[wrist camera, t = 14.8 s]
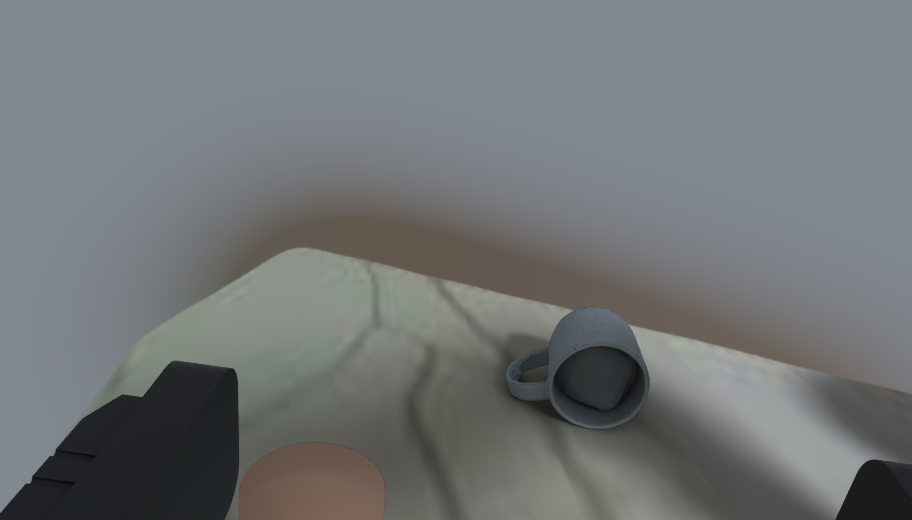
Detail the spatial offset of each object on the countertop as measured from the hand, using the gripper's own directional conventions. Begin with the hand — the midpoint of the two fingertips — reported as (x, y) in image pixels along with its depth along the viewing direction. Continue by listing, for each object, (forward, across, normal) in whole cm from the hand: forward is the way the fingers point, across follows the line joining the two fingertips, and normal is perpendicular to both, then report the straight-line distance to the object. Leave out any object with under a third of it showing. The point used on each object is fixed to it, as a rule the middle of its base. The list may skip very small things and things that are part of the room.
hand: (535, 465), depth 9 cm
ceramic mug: (+42, -9, +28) cm, 51 cm away
